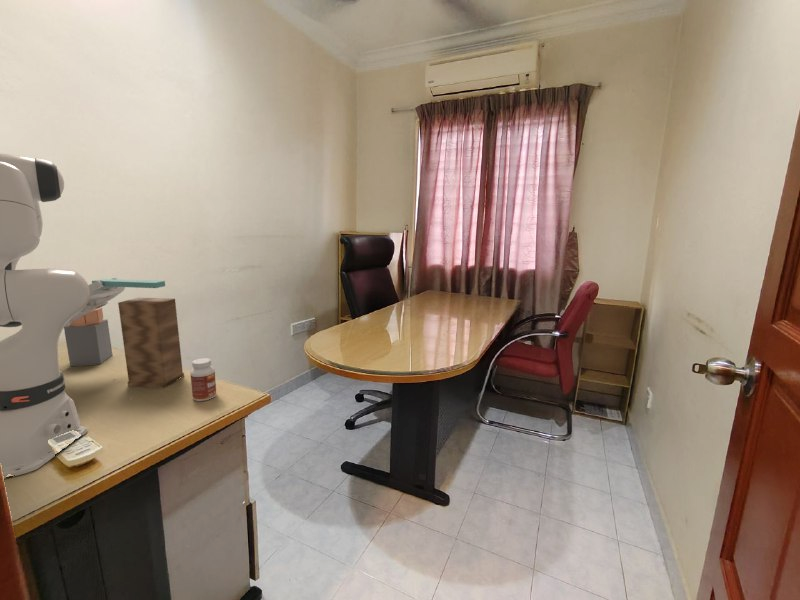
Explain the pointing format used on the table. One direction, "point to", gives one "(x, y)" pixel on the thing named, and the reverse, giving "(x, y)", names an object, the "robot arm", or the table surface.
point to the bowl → (89, 318)
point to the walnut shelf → (151, 341)
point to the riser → (88, 344)
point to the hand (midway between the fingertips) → (109, 281)
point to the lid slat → (132, 283)
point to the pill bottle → (203, 380)
